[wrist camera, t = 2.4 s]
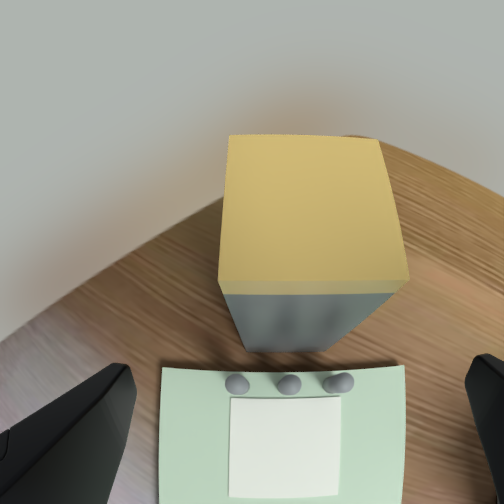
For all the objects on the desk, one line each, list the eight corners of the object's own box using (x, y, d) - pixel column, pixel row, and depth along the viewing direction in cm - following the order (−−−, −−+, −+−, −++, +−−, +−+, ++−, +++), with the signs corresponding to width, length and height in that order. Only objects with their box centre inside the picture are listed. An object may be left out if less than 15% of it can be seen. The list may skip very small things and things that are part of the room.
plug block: (324, 351, 18) (409, 279, 7) (246, 352, 18) (217, 280, 7) (321, 279, 20) (377, 139, 9) (248, 279, 20) (229, 135, 9)
